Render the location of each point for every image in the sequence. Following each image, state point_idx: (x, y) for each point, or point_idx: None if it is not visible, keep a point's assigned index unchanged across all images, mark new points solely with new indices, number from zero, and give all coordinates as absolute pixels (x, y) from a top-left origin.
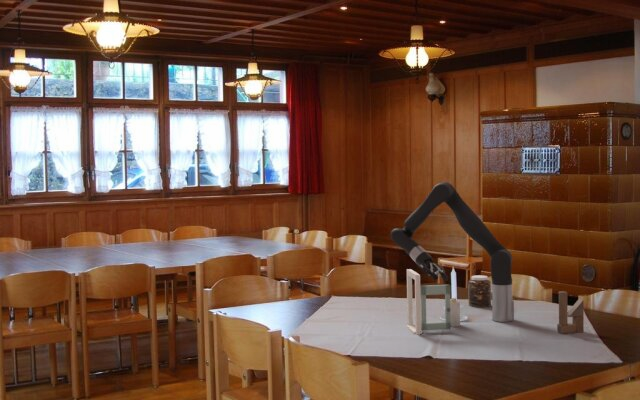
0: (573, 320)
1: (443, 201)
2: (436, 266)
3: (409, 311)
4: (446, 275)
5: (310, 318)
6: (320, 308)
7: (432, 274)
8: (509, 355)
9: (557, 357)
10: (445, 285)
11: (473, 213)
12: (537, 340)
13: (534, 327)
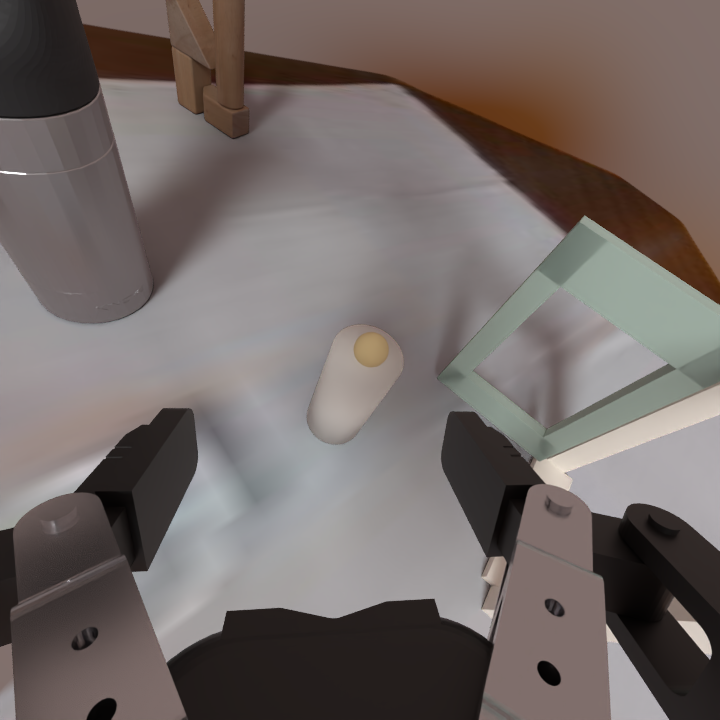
0: (198, 75)
1: None
2: (167, 693)
3: None
4: (148, 434)
5: None
6: None
7: (534, 482)
8: (500, 199)
9: (445, 142)
10: (611, 235)
11: None
12: (352, 169)
13: (195, 183)
